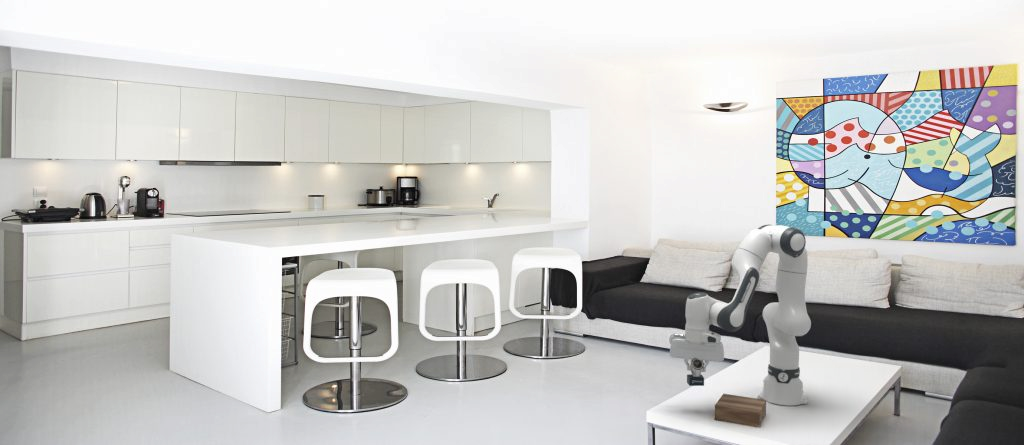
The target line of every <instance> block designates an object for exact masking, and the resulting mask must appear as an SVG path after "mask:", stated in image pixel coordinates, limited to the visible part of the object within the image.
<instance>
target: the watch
mask: <svg viewBox="0 0 1024 445" xmlns="http://www.w3.org/2000/svg"><path fill="white" fill-rule="evenodd" d="M705 364H706V363H705V361H704V360H700V359H699V360H698V358H692V359H690V363H689V365H691V371H690V373H691V374H686V383H687V384H688V386H690V387H698V386H700V387H701V386H702V387H704V386H705V377H704V376H703V375H702V373H703V372H702V370H703V367H704V366H705Z"/></svg>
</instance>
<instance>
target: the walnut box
mask: <svg viewBox="0 0 1024 445" xmlns="http://www.w3.org/2000/svg"><path fill="white" fill-rule="evenodd" d="M713 415H714V416H713V418H714V419H713V420H714V421H718V422H725V423H728V424H729V423H731V424H736V425H742V426H747V427H754V428H760V426H761V425H762V422H763V421H764V419H765V417H766V415H767V401H766V400H764V399H761V398H755V397H749V396H741V395H735V394H728V393H723V394H722V395H721V396H720V397H719V399H718V400H717V402H716V403H715V404H714V414H713Z"/></svg>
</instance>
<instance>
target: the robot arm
mask: <svg viewBox="0 0 1024 445" xmlns="http://www.w3.org/2000/svg"><path fill="white" fill-rule="evenodd" d="M806 242H807V241H806V235H805V233H804V232H803V231H802V230H801V229H799V228H796V227H793V226H791V227H790V226H787V225H783V224H778V225H777V224H764V225H761V226H759V227H758V228H755V229H751V230H749V232H748V233H747V234H746V235H745V237H744V238H743V239H742V240H741V242H740V243H739V245H738V247H737V248H736V250H735V252H733V255H732V257H731V262H730V264H731V267H732V270H733V272H734V274H736V275H737V276H738V278H739V283H738V286H737V287H736V291H735V293H734V296H733V298H732V300H731V301H729V303H728V302H724V301H721V300H718V299H716V298H714V297H711V296H709V295H708V294H707V293H706V292H693V293H691V294H690V295H688V296H687V299H686V301H685V315H684V316H685V321H686V322H685V325H684V326H685V327H684V330H685V331H684V334H683V333H672V334H670V336H669V339H668V340H669V344H670V348H669V356H670V357H671V358H673V359H683V361H684V364H685V365H686V370H687V371H689V372H691V365H690V363H689V360H691V359H692V358H698V360H699V359H700V360H703V362H704V363H705V365H704V367H703V370H702V372H701V373H706V372H707V366H708V365H709V363H710V362H717V363H722V362H723V361H725V360H724V359H725V350H724V349H725V348H724V345H723V343H722V341H721V340H722V336H721V334H719V333H717V332H714V331H711V330H710V325H713V326H715V327H718V328H720V329H722V330H724V331H726V332H728V333H735V332H737V331H739V330H740V329H741V328H742V327H743V325H744V323H745V320H746V315H747V310H748V308H749V305H750V303H751V302H752V301H751V300H752V298H753V295H754V294H755V291H756V289H757V287H758V284H759V281H760V271H761V267H762V266H763V264H764V262H765V260H766V259H767V256H768V254H769V253H774V254H777V255H778V257H779V259H778V264H777V270H776V271H777V273H776V278H775V285H774V286H775V287H774V288H775V291H776V294H777V298H778V299H777V300H778V302H770V303H769V302H768V304H767V305H765V306H764V308H763V310H762V318H763V321H764V323H765V325H766V329H767V335H768V336H767V337H768V341H769V364H768V366H767V375H766V376H765V377H764V378H763V381H762V382H763V385H762V391H761V392H759V394H758V395H757V399H763V400H766V402H768V403H771V404H774V405H778V406H779V405H780V406H789V407H790V406H798V405H807V404H808V403H809V402H808V399H807V398H806V397H805V395H804V383H803V381H802V380H801V379H800V373H801V369H800V366H799V364H800V346H799V345H798V343H797V340H796V337H803V336H805V335H807V333H809V331H810V330H811V326H812V321H811V318H810V316H809V314H808V311H807V304H806V295H805V294H806V284H807V274H808V262H809V261H808V259H809V258H808V250H807V248H806V245H807V244H806Z"/></svg>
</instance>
